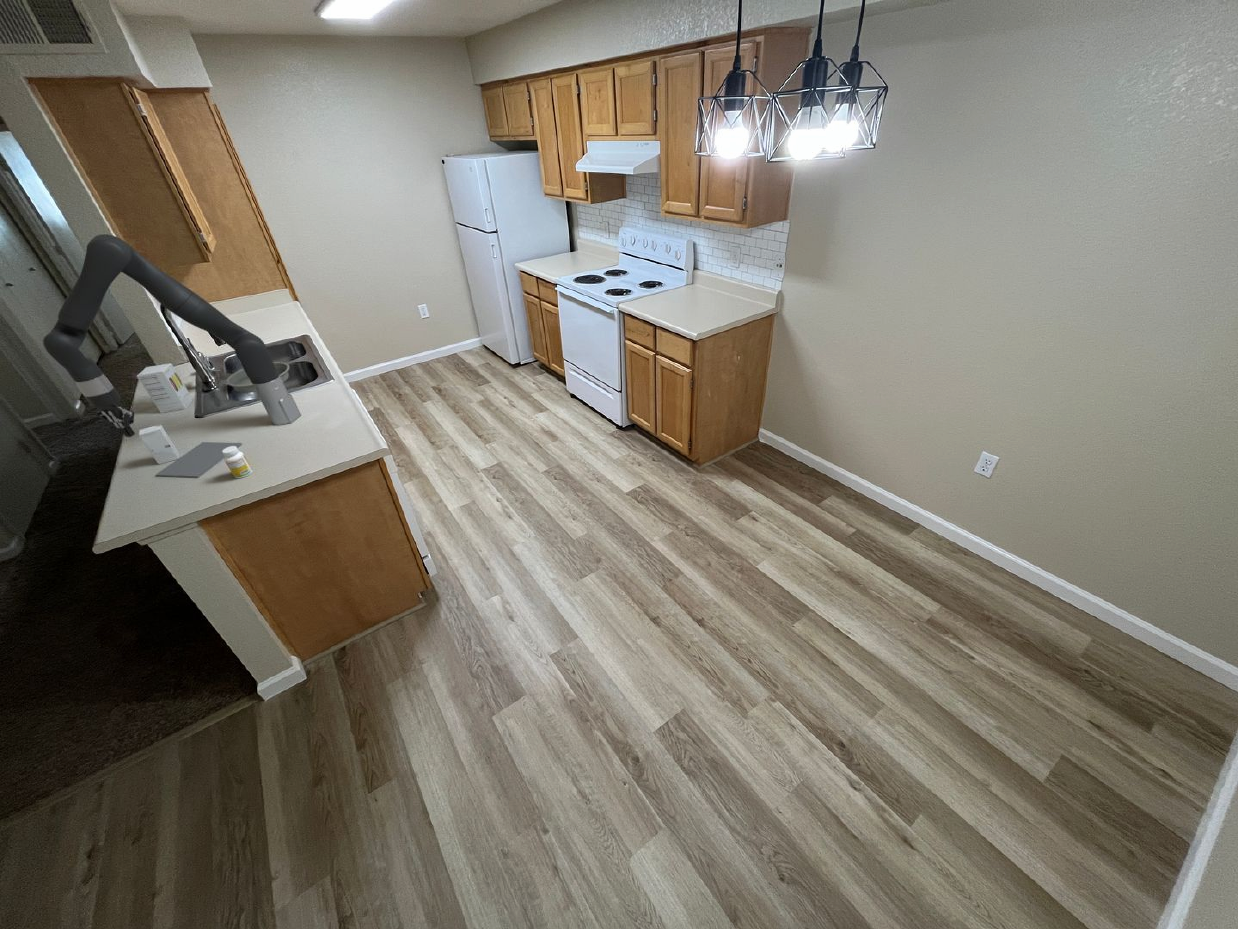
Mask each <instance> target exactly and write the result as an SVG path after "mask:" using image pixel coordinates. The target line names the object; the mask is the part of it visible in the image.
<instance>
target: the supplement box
mask: <svg viewBox="0 0 1238 929" xmlns="http://www.w3.org/2000/svg"><path fill="white" fill-rule="evenodd" d="M180 377H181V376H180V375H179V374H178V373H177V371H176V369H175V367H174V365H173V364H172V363H164V364H159V365H152V366H145V368H144V369H143V370H141V372H139V373H138V374H137V375H136V378H137V379H138V380H139V382H140V383H141V385H142V386H143V388H144V390H145V391H146V393H147V394H148V396H149V398H150V399H151V401H152V402H153V404H154V405H155V406H156V408H157V409H158V410H159V412H160V413H161V414H164V413H169V412H173V411H174V412H175V411H176V412H177V411H180V410H186V409H187V408H188V406H189V405H190V404H191V403H192V402H193V400H194V398H193V397H192V395H191V393H190V392H189V390H188V388H187V387H186V385H185V384H184V382H183V380H182V378H180Z"/></svg>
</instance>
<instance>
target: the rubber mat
mask: <svg viewBox="0 0 1238 929" xmlns="http://www.w3.org/2000/svg"><path fill="white" fill-rule="evenodd" d="M242 445H243V443H242V442H221V441H219V442H217V441H216V442H213V441H212V442H210V441H202V442H200V443H198V444H197V445H196V446H195V447H194V448H192V449H189V451H187V452H186V453H184V454H183V455H182V456H179V458H178V459H176V460H174V461H173V462H171V463H170V464H168V465H167V466H166V467H165V468H163V469H161V470H160V471H159V472H157V473H156V474H155V477H163V478H164V477H165V478H168V477H169V478H191V479H192V478H193V479H196V478H197V479H198V478H200V477H201V476H203V475H204V474H205V473H206V472H208V471H210V470H211V469H213V467H214V466H216V465H217V464H218V463H220V462H221V461H223V460H224V457H225V456H224V454H223V452H222V451H223V450H224V449H225V448H227V447H230V446H236V447H237V449H239V447H241V446H242Z"/></svg>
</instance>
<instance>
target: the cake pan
mask: <svg viewBox="0 0 1238 929" xmlns="http://www.w3.org/2000/svg"><path fill="white" fill-rule="evenodd" d="M273 363H274V365H275V367H276V369H277V371H278V373H279V375H280V377H281V379H282V381H283V383H284V382H286V381H287V380H288V379H289V376H290V375H289V374H290V373H289V370H290V365H289V364H288V363H287V362H281V361H273ZM226 384H227V385H228V386H231V387H232V388H233V389H234V390H235V391H236V392H238V393H243V394H252V393H257V392H256V390H255V388H254V386H253V384H252V383H251V381H250V379H249V377H248V376H247V374H246V372H245V371H244V369H243V368H242V369H239V370H237V371H236V372H234V373H232V374H231V375H229V376H228V377H227V379H226Z"/></svg>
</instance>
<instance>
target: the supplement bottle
mask: <svg viewBox="0 0 1238 929" xmlns="http://www.w3.org/2000/svg"><path fill="white" fill-rule="evenodd" d="M222 452H223V454H224V456H225V457H224V459H223V461H224V462H225V464H226V466H227V467H228V469H229V470H230V473H231V474H232V476H234V478H236V479H241V478H245V477H248V476H250V475H251V474H252V473H253V471H254V470H253V467H252V466H251V464H250V463H249V461H248V459H247V457H246V456H245V454H244V453H243V452H242V451H240V450H239V448H237V447H236V446H230V447H227V448H225V449H224V450H223V451H222Z"/></svg>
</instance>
